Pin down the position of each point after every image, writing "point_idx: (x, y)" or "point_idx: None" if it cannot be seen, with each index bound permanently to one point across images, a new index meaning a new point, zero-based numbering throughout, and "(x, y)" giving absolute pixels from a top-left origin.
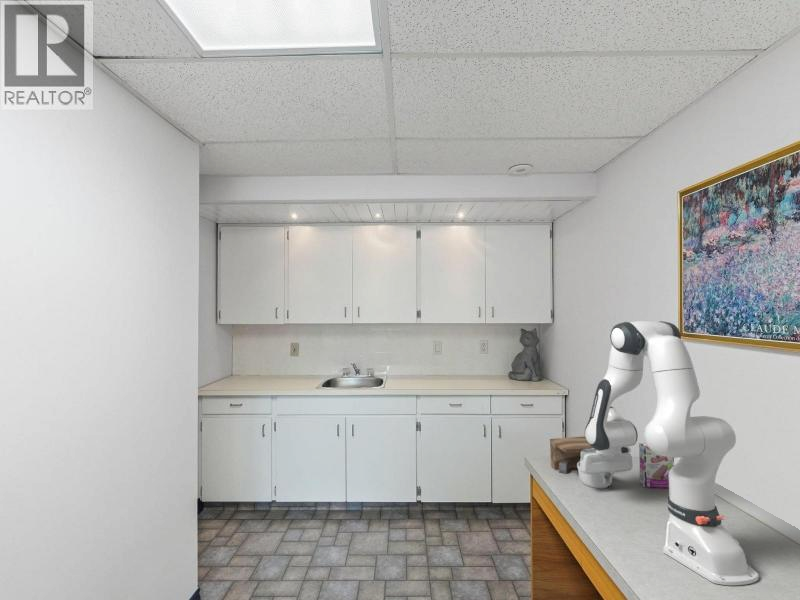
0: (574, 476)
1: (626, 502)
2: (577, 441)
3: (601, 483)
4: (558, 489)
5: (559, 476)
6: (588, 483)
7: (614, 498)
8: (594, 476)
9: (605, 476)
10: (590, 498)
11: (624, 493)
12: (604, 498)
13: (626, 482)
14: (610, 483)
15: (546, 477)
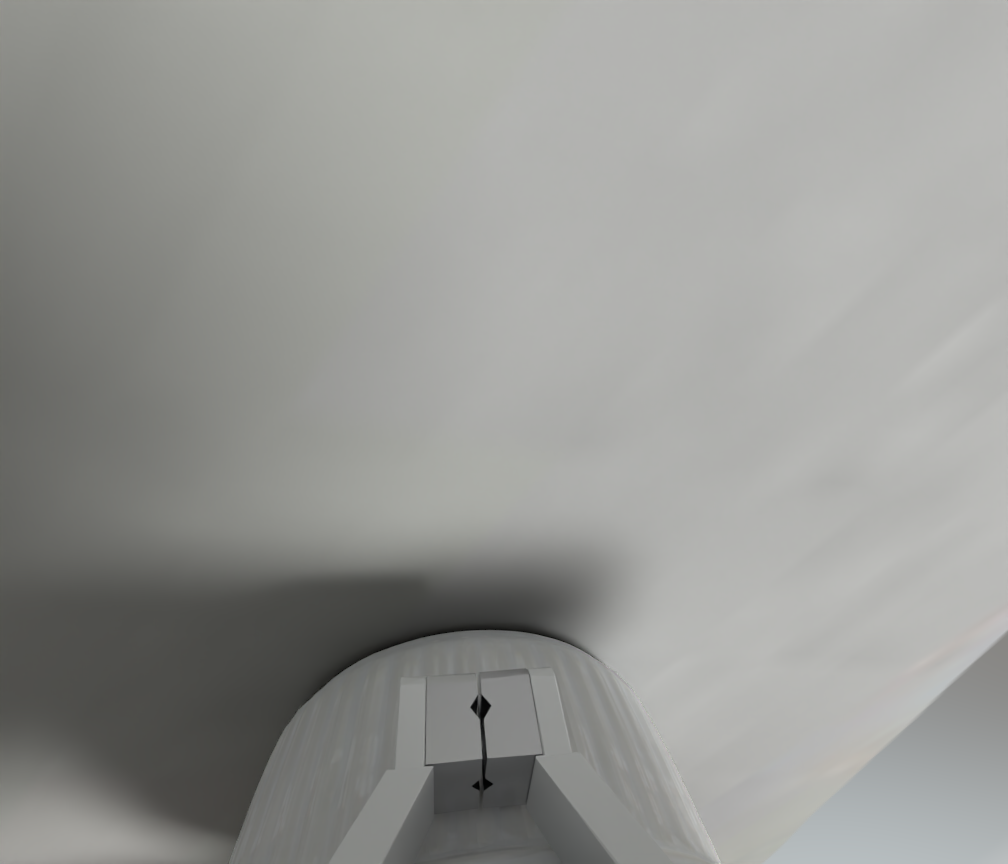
0: None
1: (405, 130)
2: None
3: None
4: (958, 643)
5: (701, 810)
6: (641, 705)
7: (527, 349)
8: (656, 822)
9: (458, 826)
10: (877, 419)
11: (228, 475)
12: (688, 381)
13: (28, 725)
14: (330, 696)
15: (816, 798)
